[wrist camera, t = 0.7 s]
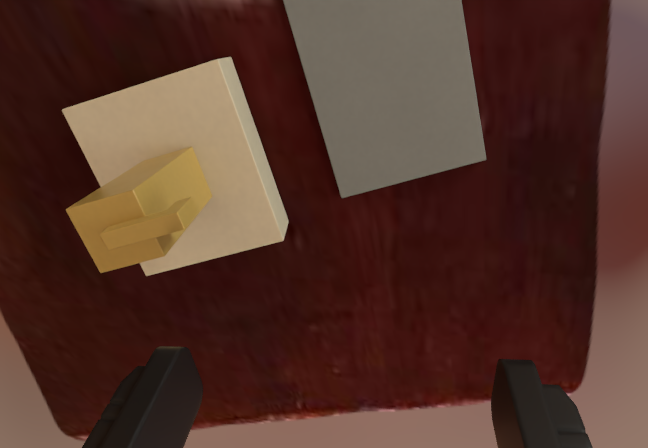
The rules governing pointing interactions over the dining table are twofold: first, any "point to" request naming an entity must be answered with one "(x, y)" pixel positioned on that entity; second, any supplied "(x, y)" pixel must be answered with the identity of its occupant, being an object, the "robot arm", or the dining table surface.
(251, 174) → the beige rectangular block
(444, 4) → the left mat
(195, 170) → the golden block with ridge
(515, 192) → the dining table surface
